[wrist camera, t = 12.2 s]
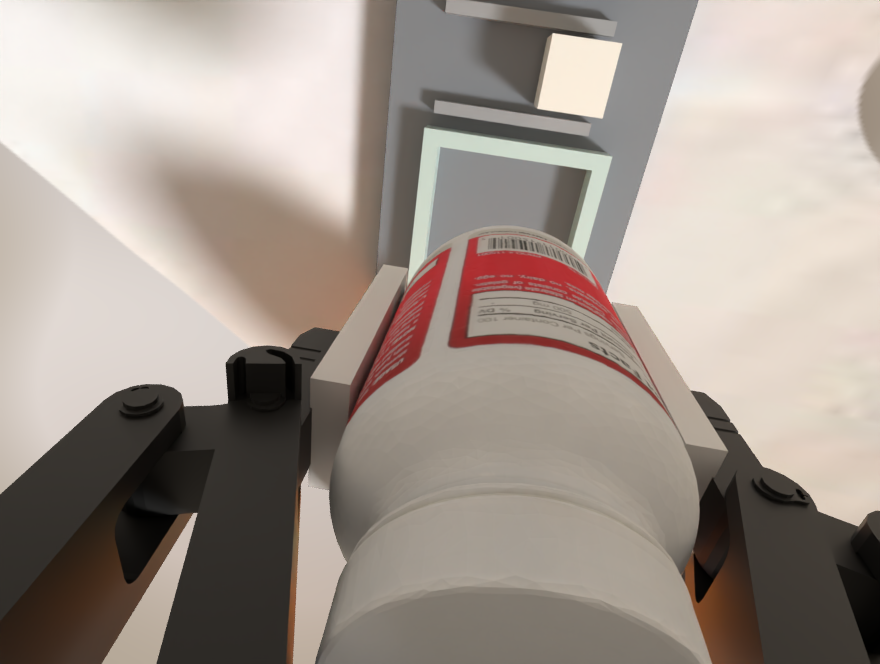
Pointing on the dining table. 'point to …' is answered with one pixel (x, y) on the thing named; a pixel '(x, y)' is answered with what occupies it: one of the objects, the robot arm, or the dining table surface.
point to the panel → (519, 124)
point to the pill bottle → (511, 476)
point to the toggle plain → (576, 75)
